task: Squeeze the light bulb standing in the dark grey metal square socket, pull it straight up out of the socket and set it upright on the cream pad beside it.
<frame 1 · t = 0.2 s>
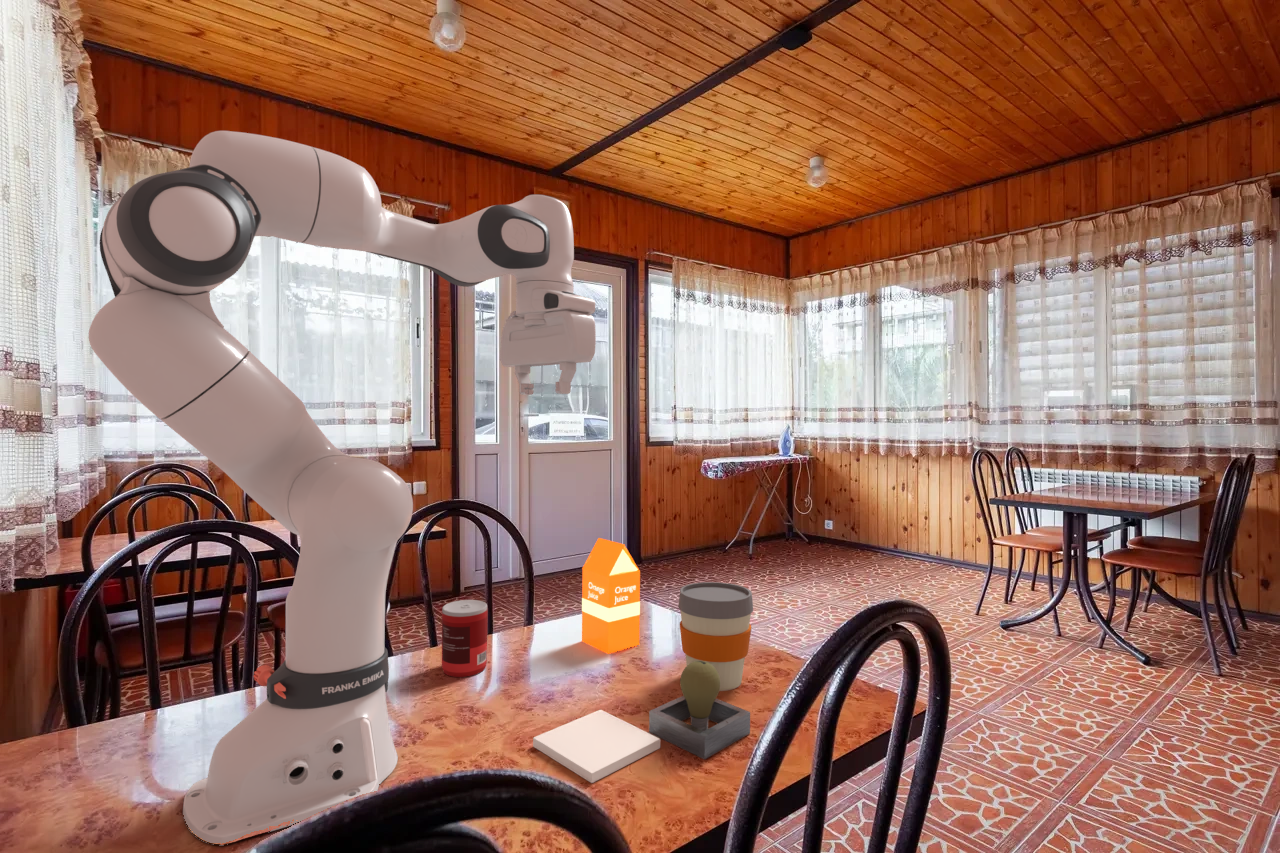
hand: (544, 394, 101), 48 cm above the table, tool pointing down, fingers open, 8 cm apart
light bulb: (699, 734, 90), resting in square socket
reusable coffee cup: (714, 680, 109), on the table
square socket: (699, 732, 90), on the table
cream pad: (596, 747, 86), on the table
canned food: (464, 669, 112), on the table
orange juice: (610, 644, 126), on the table
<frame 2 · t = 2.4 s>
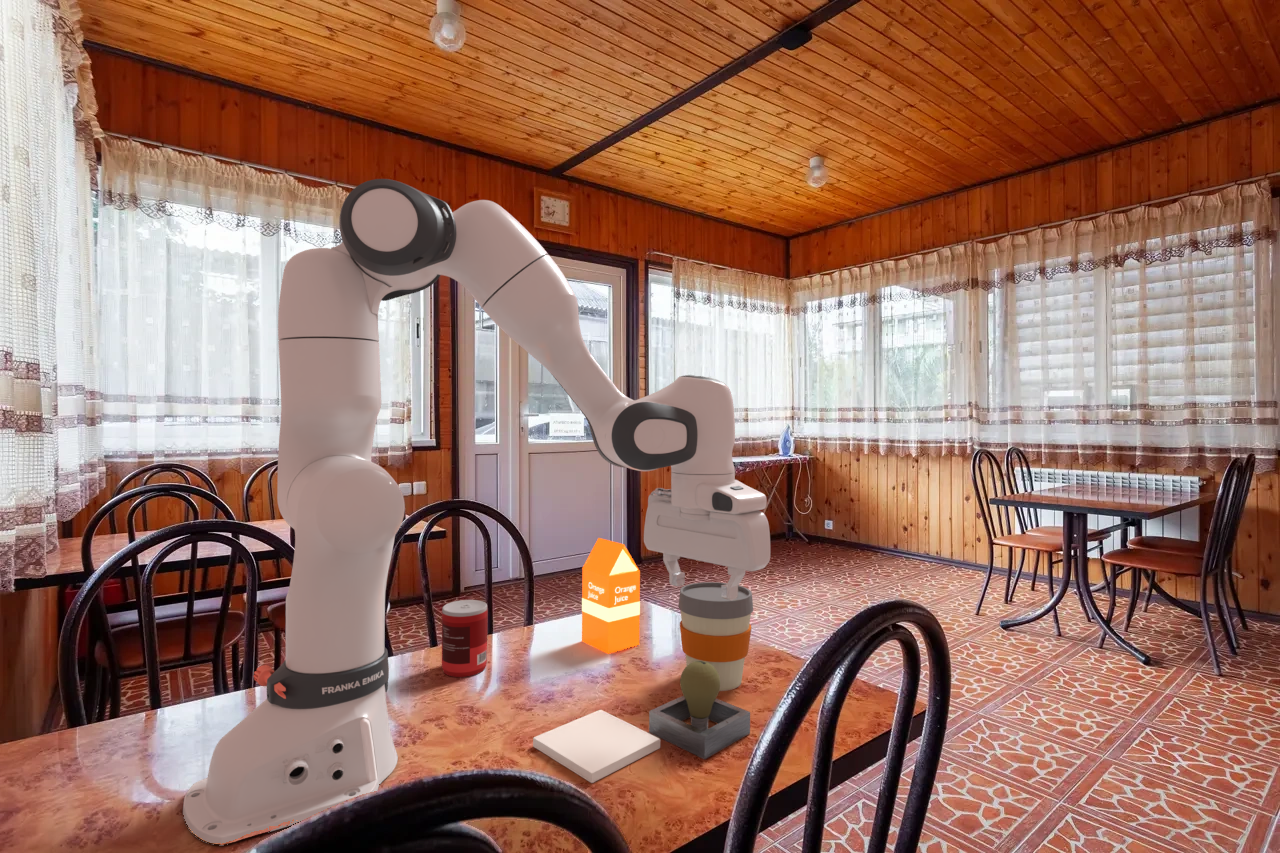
hand: (702, 591, 90), 20 cm above the table, tool pointing down, fingers open, 8 cm apart
nothing on the table moved.
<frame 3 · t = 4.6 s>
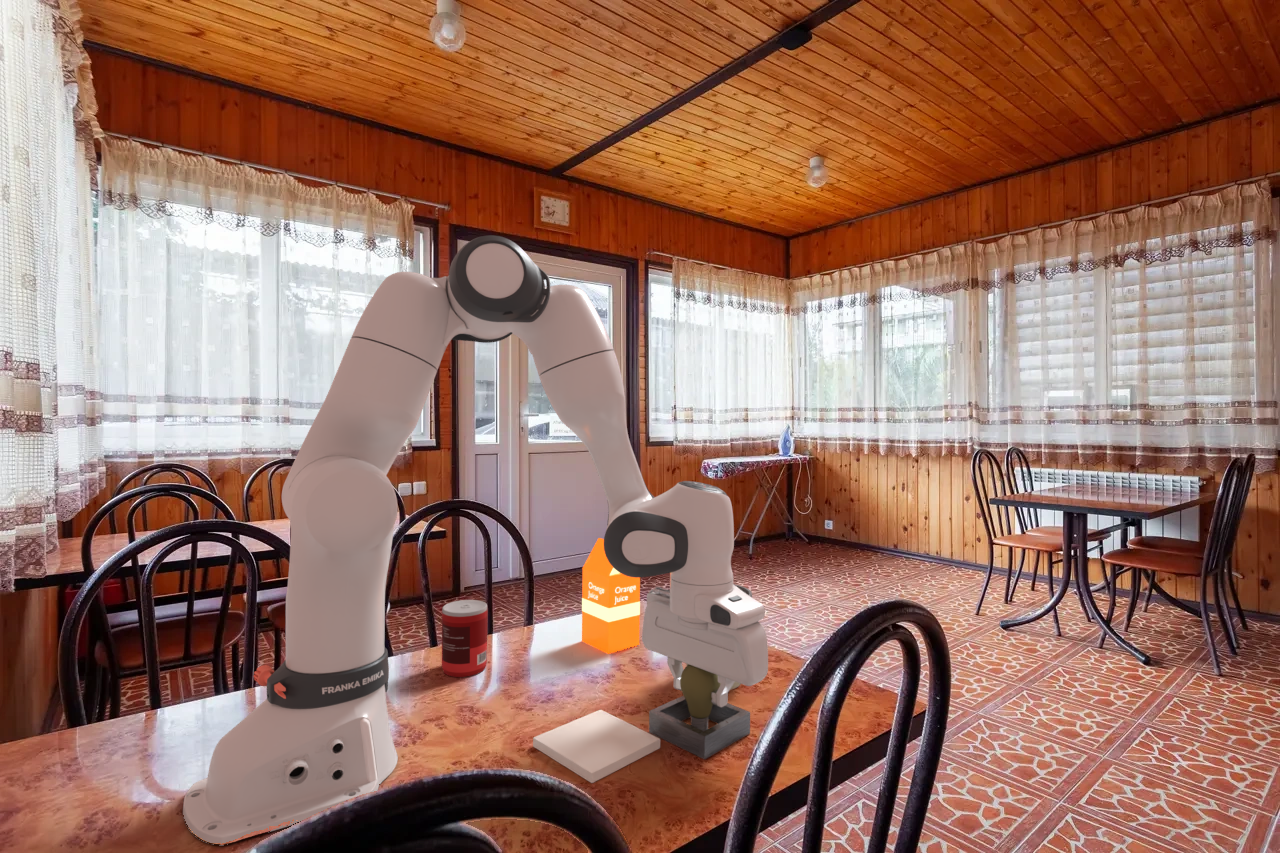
hand: (699, 696, 90), 5 cm above the table, tool pointing down, fingers closed on light bulb, 5 cm apart
light bulb: (699, 734, 90), resting in square socket, touching gripper
everything else where it was.
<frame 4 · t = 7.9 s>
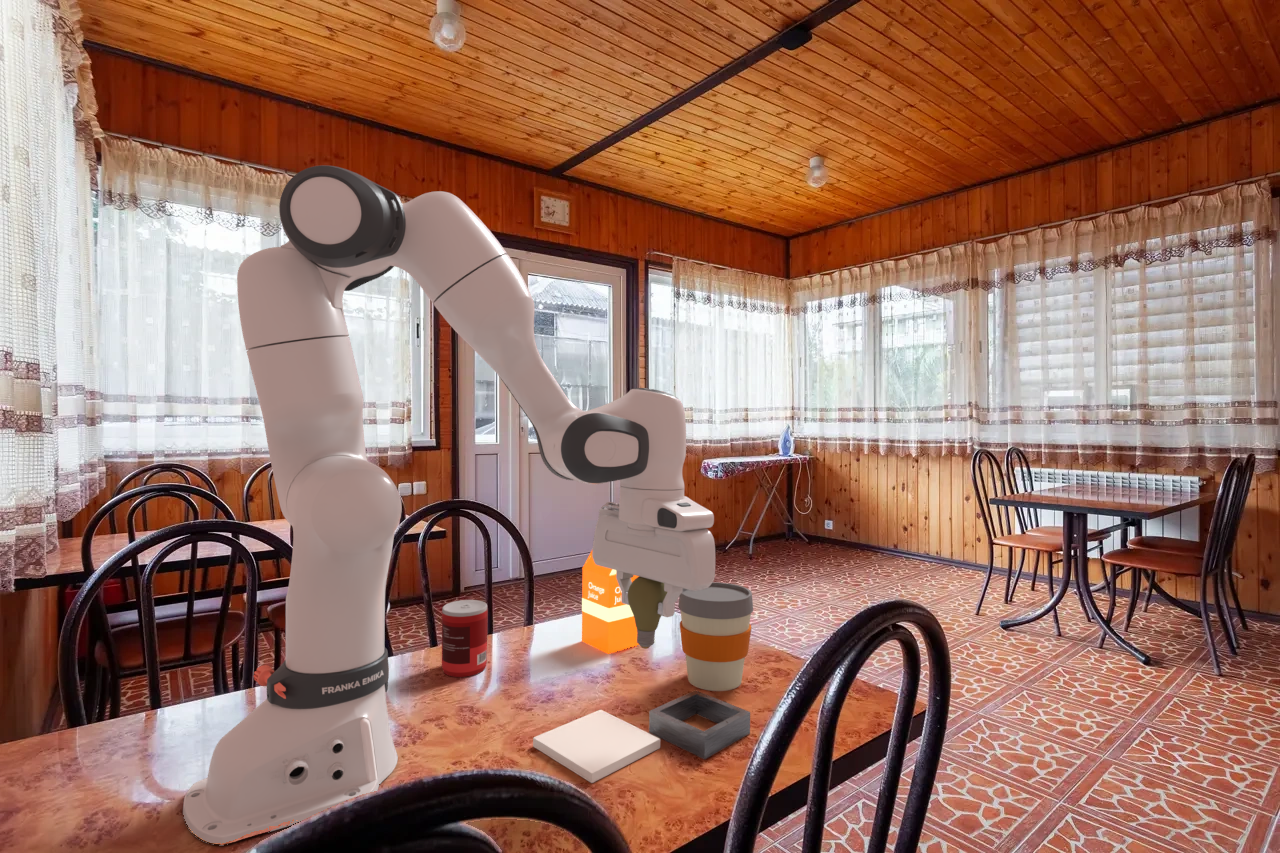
hand: (647, 609, 88), 18 cm above the table, tool pointing down, fingers closed on light bulb, 5 cm apart
light bulb: (645, 649, 88), point 12 cm above the table, touching gripper
everything else where it was.
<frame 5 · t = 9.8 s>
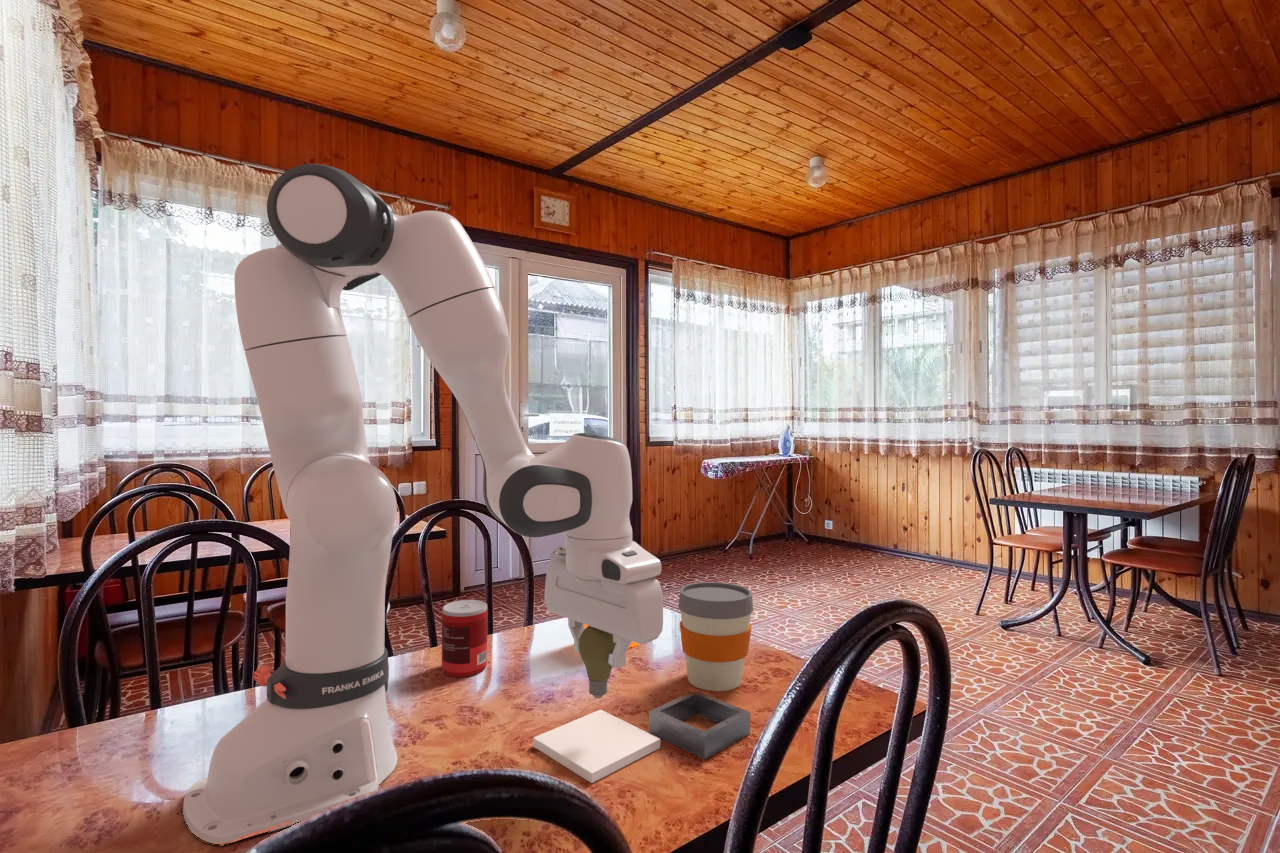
hand: (599, 658, 86), 12 cm above the table, tool pointing down, fingers closed on light bulb, 5 cm apart
light bulb: (598, 698, 86), point 6 cm above the table, touching gripper
everything else where it was.
when the fingers open (8 cm above the table, at t = 11.5 s): light bulb drops 1 cm, resting on cream pad.
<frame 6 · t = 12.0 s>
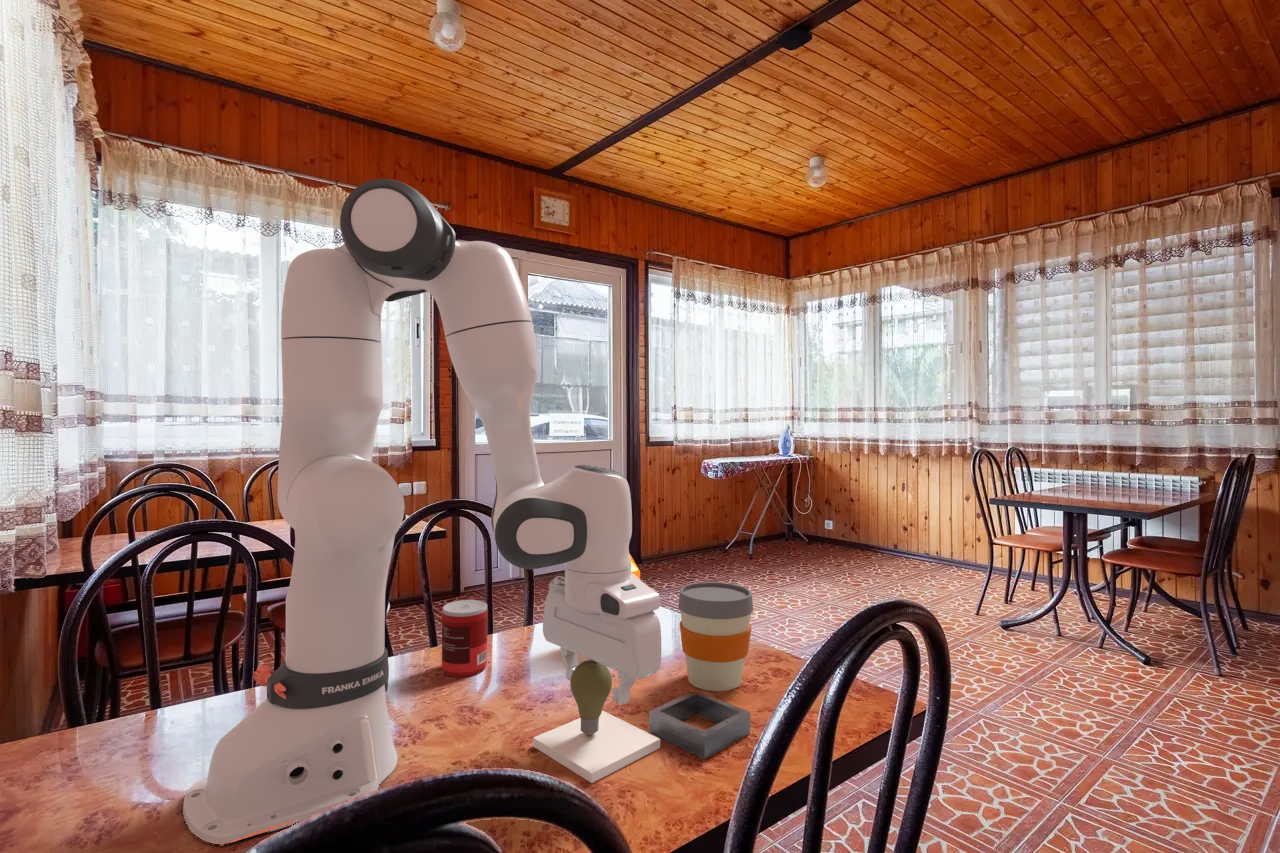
hand: (596, 690, 86), 8 cm above the table, tool pointing down, fingers open, 8 cm apart
light bulb: (589, 735, 87), point 1 cm above the table, touching cream pad, gripper
everything else where it was.
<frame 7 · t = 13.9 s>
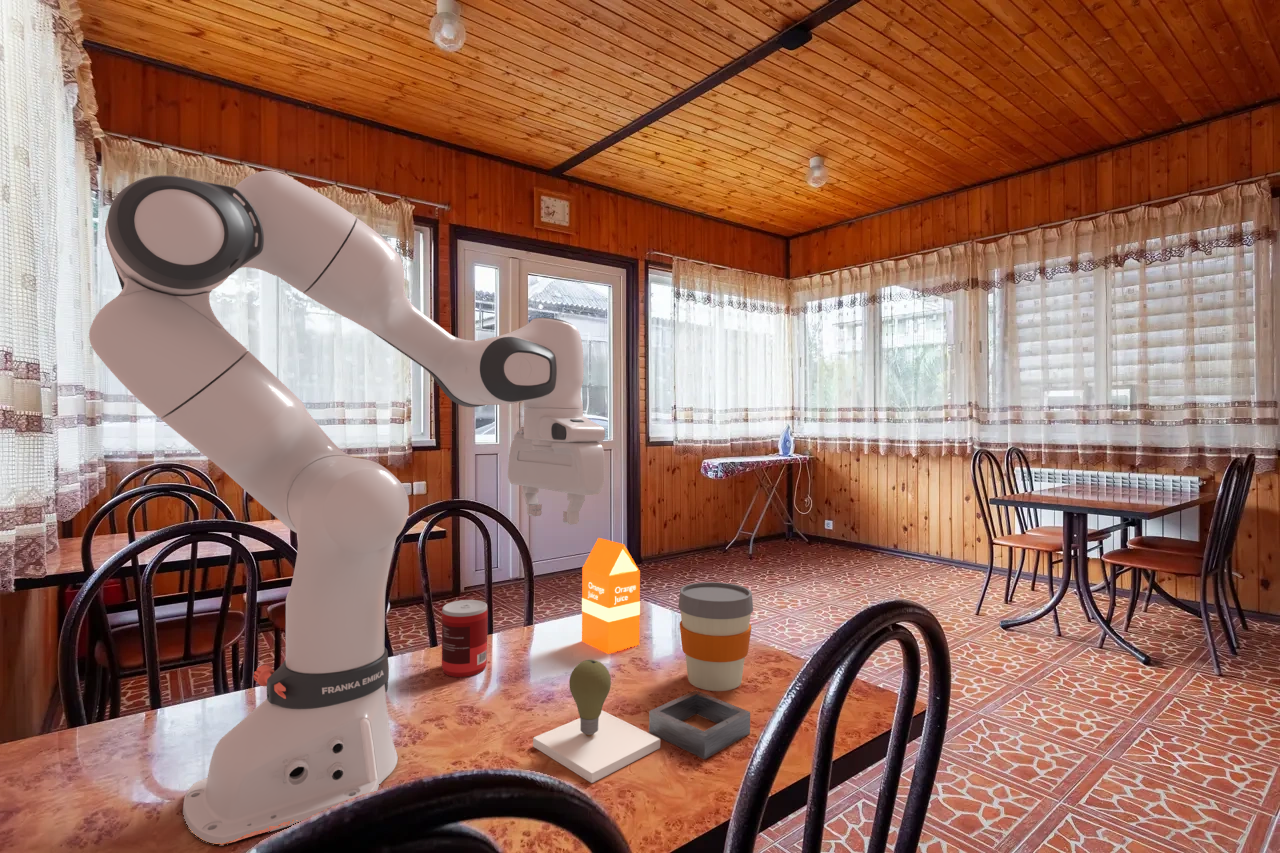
hand: (551, 519, 97), 29 cm above the table, tool pointing down, fingers open, 8 cm apart
light bulb: (589, 736, 87), point 1 cm above the table, touching cream pad
everything else where it was.
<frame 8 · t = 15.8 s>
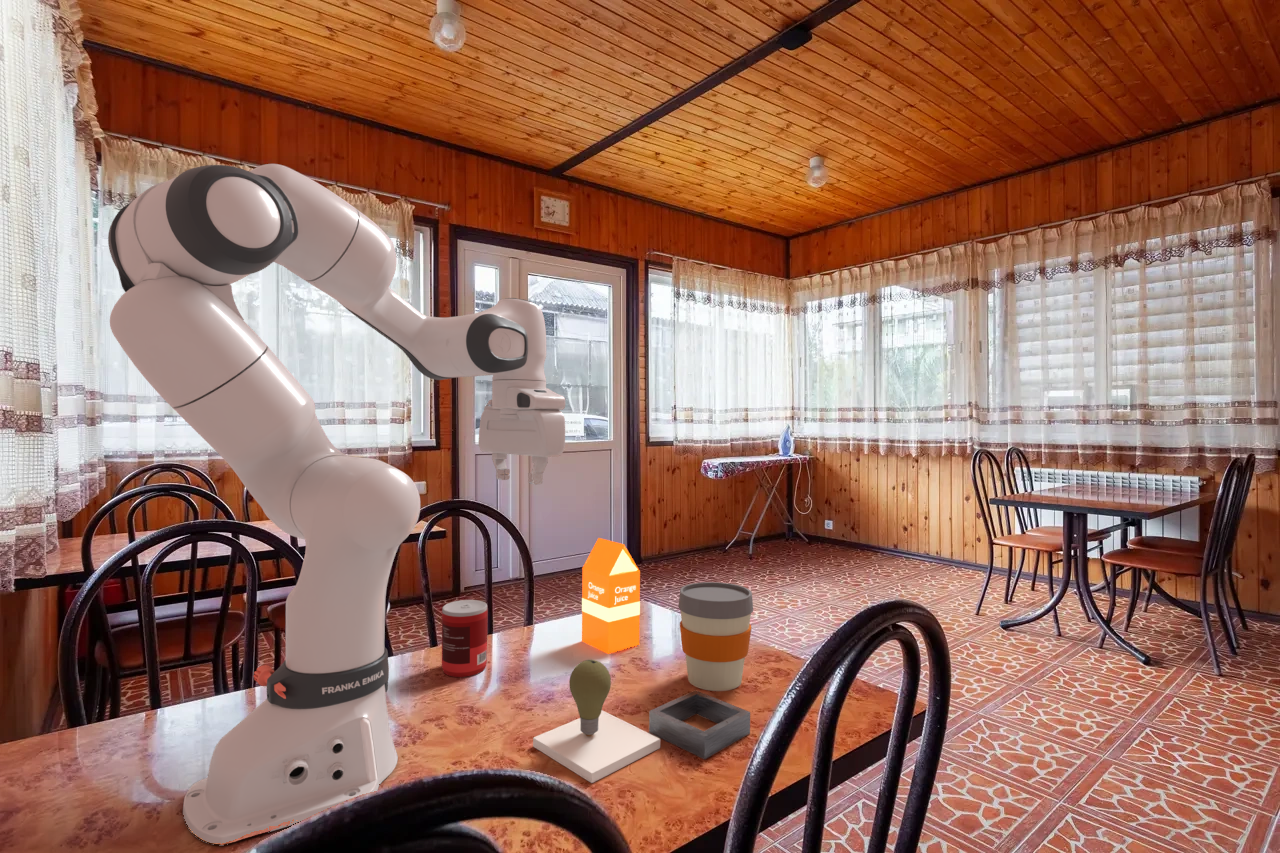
hand: (518, 481, 108), 33 cm above the table, tool pointing down, fingers open, 8 cm apart
nothing on the table moved.
at the end: light bulb inside the target area on the cream pad (1.4 cm from its centre), point 1.0 cm above the cream pad's base; light bulb tilted 0°; light bulb touching cream pad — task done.
